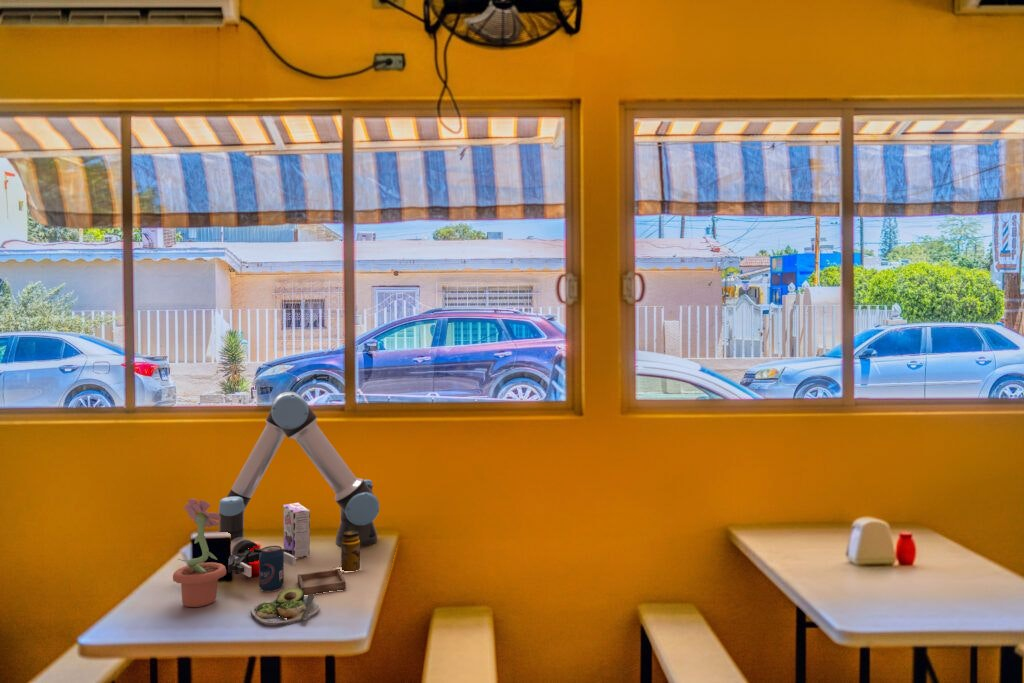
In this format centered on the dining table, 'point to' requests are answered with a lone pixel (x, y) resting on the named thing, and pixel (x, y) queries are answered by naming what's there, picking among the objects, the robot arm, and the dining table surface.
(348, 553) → the condiment
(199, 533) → the decorative flower
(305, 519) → the candy box
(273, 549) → the soda can
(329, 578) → the walnut tray
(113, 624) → the dining table surface
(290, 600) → the avocado toast plate
